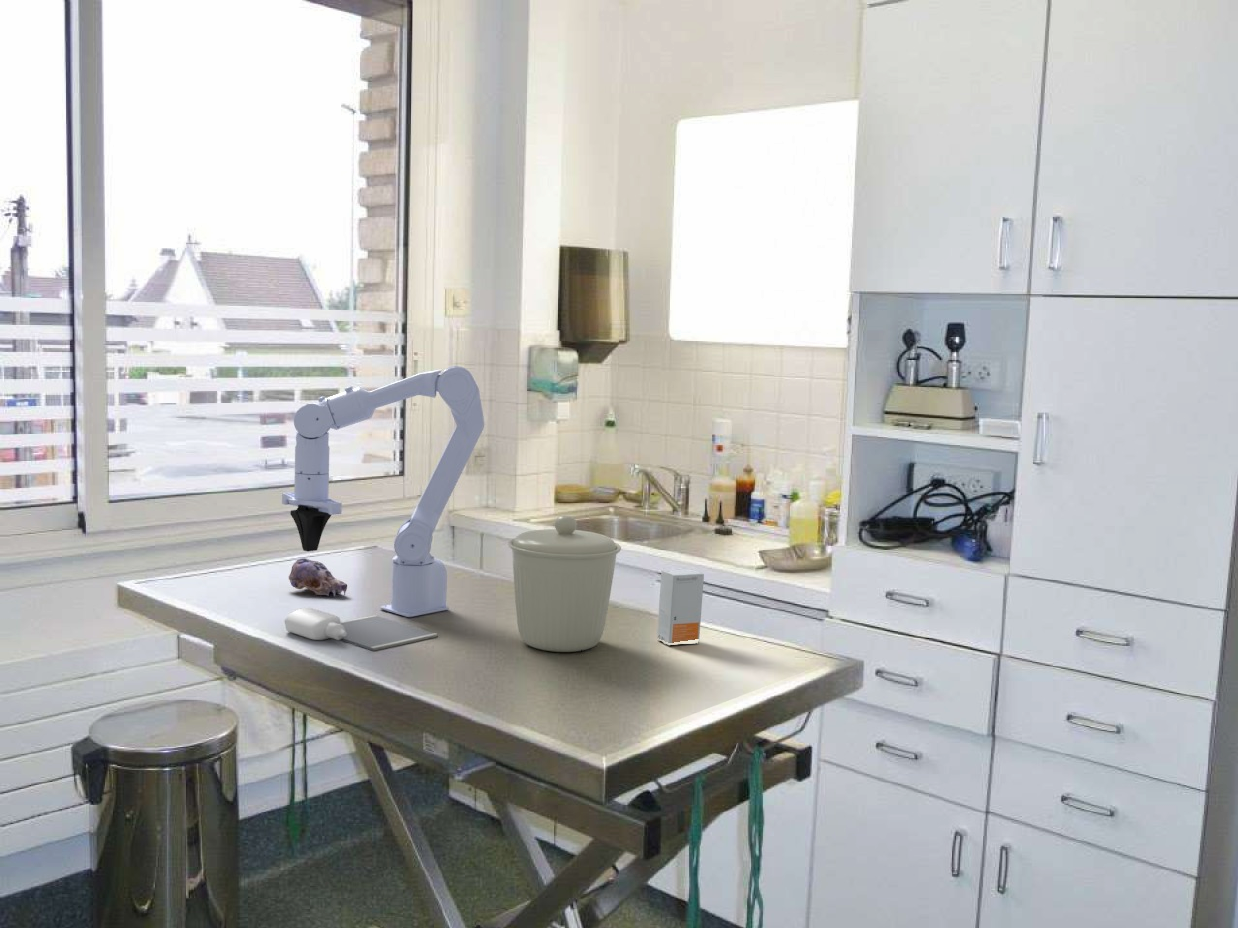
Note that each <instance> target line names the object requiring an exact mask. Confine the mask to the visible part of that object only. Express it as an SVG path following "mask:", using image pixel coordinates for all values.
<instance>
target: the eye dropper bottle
mask: <svg viewBox="0 0 1238 928" xmlns="http://www.w3.org/2000/svg"><path fill="white" fill-rule="evenodd" d="M341 622H342V621H341V618H340V617H339V616H338V615H335V614H331V613H329V612H325V611H322V610H320V609H315V608H313V607H303V608H299V609H295V610H294V611H293V612H291V613H289V614H288V615H287V616H286V617H285V619H284V626H285V631H286V632H289V633H291V634H295V635H297V636H301V637H304V638H307V639H309V640H314V641H324V640H328V639H334V640H336V641H341V640H340V639H342V638H343V636H346V635H347V633H346V632H345V627H344V626H343V625H341Z"/></svg>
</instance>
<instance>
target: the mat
mask: <svg viewBox="0 0 1238 928" xmlns="http://www.w3.org/2000/svg"><path fill="white" fill-rule="evenodd" d="M341 625H343V626H344V627H345V632H346V633H347V635H346V636H343V638H342V639H340V640H339V641H342V642H345V643H349V644H352V645H353V646H354V645H355V646H358V647H361V648H364V649H366V650H369V651H373V652H375V651H379V650H384V649H388V648H389V649H390V648H393V647H397V646H402V645H407V644H411V643H415V642H420V641H423V640H424V641H425V640H428V639H434V638H437V637H438V633H435V632H432V631H428V630H426V629H425V630H424V629H423V628H419V627H415V626H411V625H409V624H405V623H403V622H399V621H395V620H391V619H388V618H384V617H382V616H379V615H376V614H375V615H370V616H365V617H359V618H353V619H349V620H344V621H341Z"/></svg>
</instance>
